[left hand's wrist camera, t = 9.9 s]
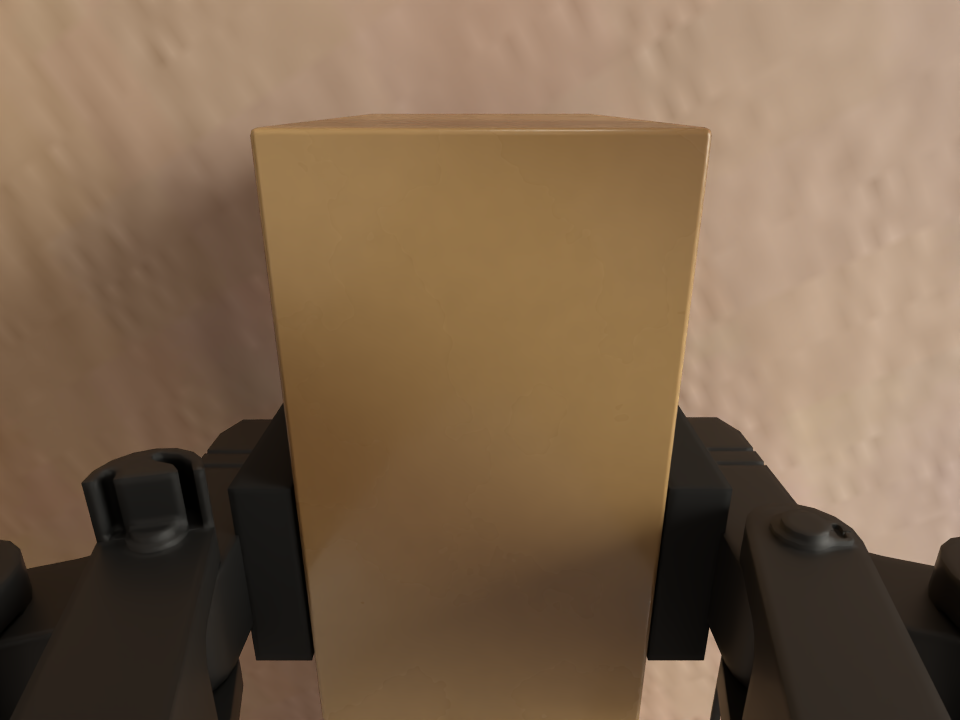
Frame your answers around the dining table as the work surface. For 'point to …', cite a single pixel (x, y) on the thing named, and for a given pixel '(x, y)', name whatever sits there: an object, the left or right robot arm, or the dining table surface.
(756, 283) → the dining table surface
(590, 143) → the bar
